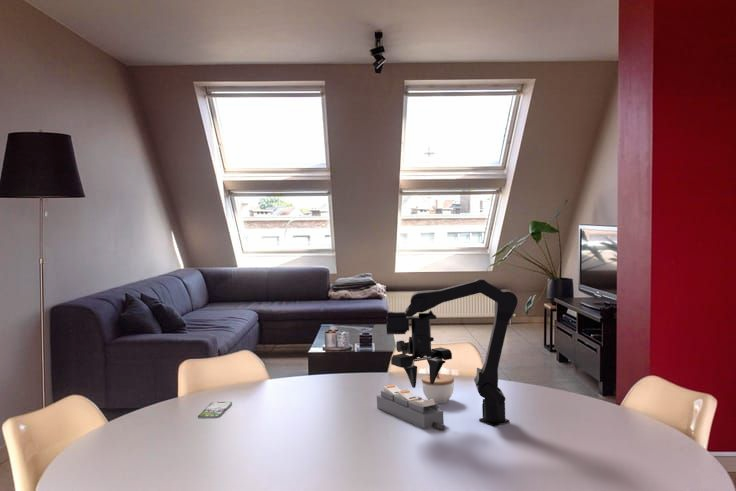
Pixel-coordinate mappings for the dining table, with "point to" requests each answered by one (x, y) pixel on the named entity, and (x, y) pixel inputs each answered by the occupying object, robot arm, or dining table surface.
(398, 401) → the rocker switch panel
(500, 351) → the robot arm
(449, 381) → the lidded jar
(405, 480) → the dining table surface
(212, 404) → the smartphone
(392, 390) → the block
